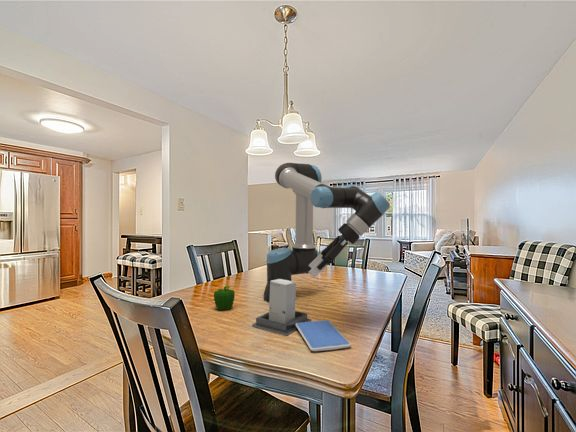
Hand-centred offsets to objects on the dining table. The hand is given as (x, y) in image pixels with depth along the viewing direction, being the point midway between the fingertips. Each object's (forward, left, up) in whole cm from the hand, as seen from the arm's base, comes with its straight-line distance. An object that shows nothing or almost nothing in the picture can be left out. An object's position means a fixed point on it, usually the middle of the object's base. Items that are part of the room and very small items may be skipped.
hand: (311, 271), depth 106 cm
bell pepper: (-40, -4, -19) cm, 45 cm away
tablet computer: (+8, -8, -19) cm, 22 cm away
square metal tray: (-9, -5, -19) cm, 22 cm away
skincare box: (-9, -5, -19) cm, 21 cm away
